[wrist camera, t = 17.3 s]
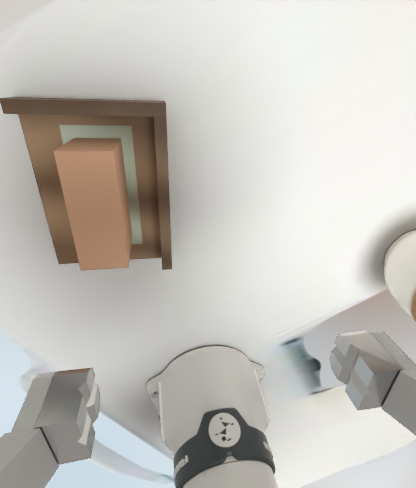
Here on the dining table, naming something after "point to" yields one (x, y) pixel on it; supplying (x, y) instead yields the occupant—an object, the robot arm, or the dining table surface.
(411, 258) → the lidded bowl
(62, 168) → the terracotta block
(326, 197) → the dining table surface
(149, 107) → the brown wooden flat frame
